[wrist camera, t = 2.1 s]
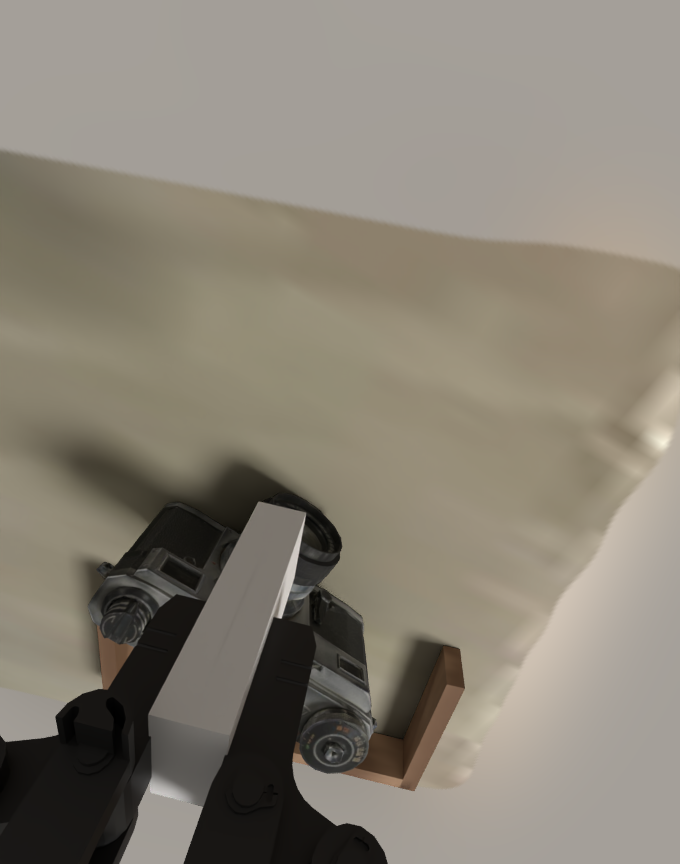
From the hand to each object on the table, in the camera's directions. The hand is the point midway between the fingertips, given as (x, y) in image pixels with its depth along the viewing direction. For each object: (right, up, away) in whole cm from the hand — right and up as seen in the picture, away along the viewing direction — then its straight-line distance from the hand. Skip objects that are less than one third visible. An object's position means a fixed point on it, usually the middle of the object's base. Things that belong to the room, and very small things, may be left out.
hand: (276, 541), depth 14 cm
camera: (-1, -4, +17) cm, 17 cm away
